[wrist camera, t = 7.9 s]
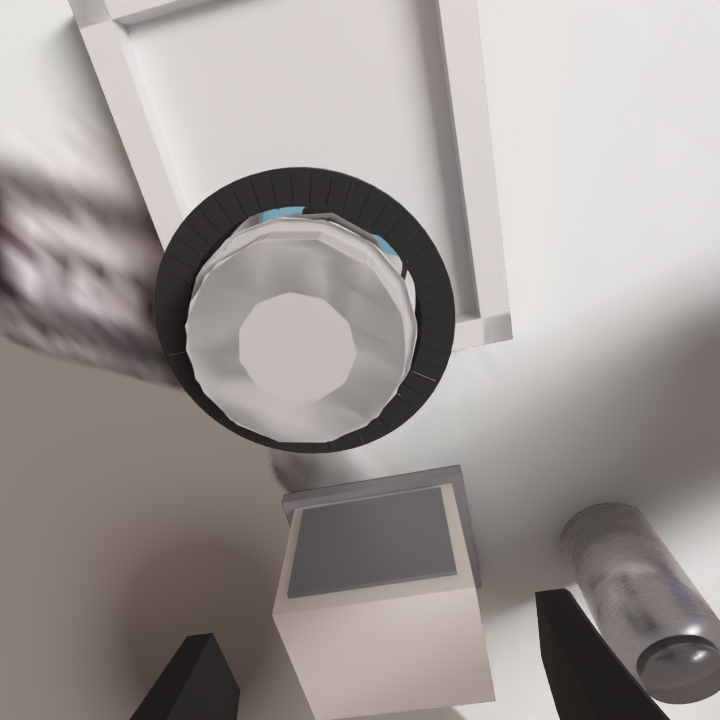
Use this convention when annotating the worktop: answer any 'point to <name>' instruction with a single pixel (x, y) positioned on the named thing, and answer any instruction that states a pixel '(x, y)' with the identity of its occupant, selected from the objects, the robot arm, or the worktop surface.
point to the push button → (304, 310)
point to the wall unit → (383, 596)
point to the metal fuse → (644, 603)
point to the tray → (314, 114)
